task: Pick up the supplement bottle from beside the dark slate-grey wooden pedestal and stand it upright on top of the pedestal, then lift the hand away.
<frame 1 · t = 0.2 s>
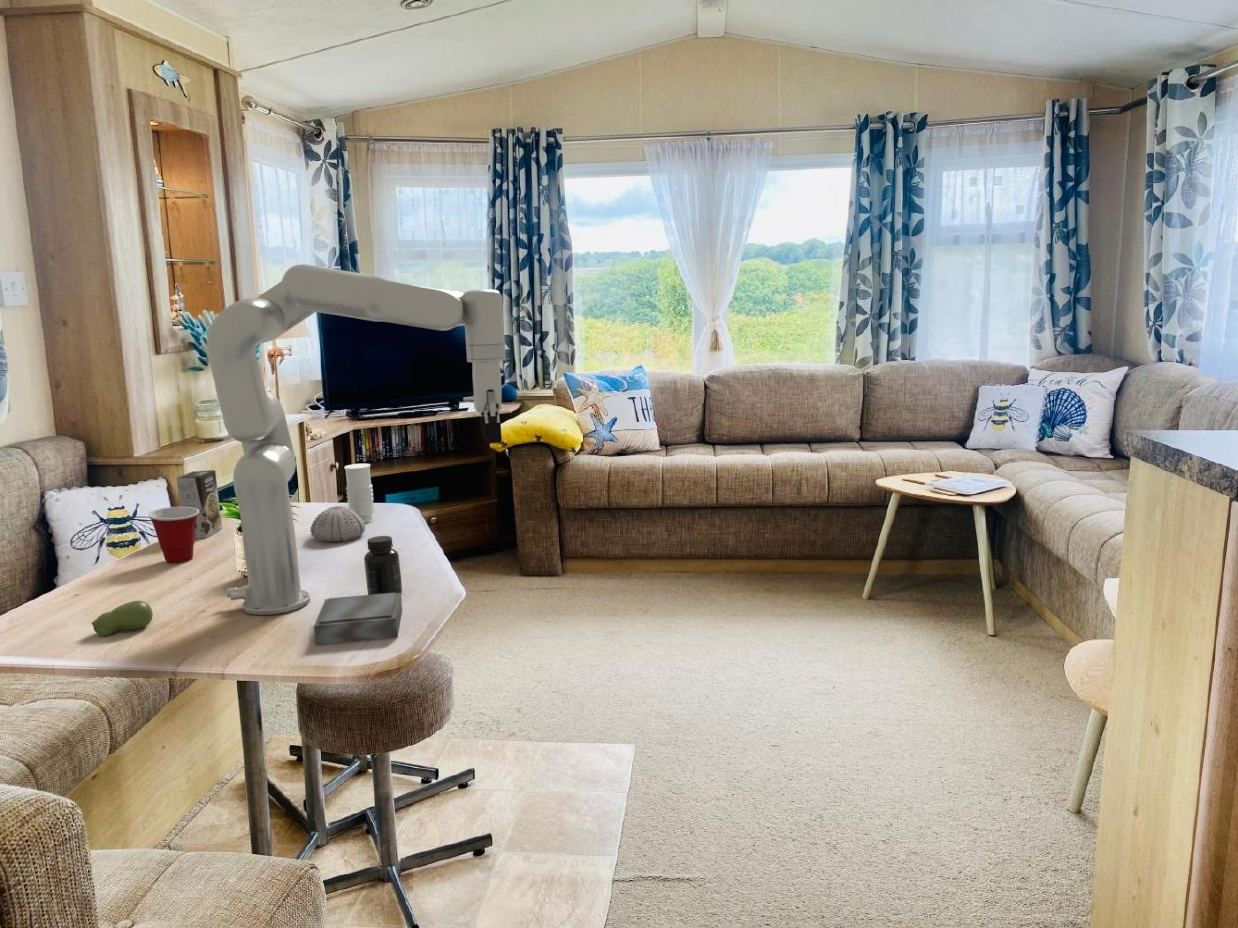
hand: (491, 439, 182), 31 cm above the table, tool pointing down, fingers open, 9 cm apart
coffee box: (203, 534, 237), on the table
pedestal: (361, 627, 168), on the table
candle: (362, 521, 246), on the table
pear: (124, 631, 170), on the table
plastic cup: (180, 561, 214), on the table
supplement bottle: (385, 596, 185), on the table
sea urchin shell: (339, 538, 230), on the table
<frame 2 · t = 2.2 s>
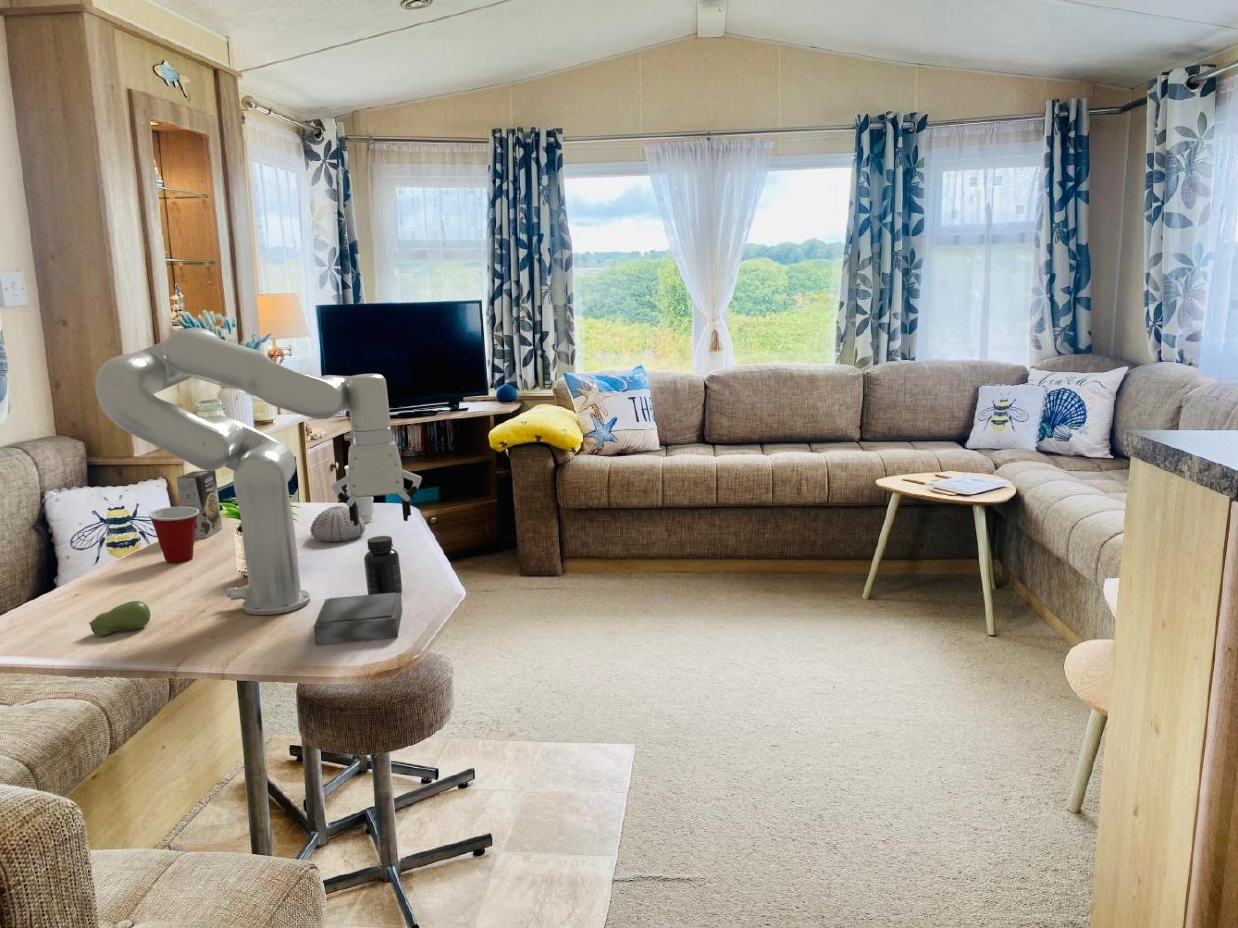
hand: (381, 521, 182), 15 cm above the table, tool pointing down, fingers open, 9 cm apart
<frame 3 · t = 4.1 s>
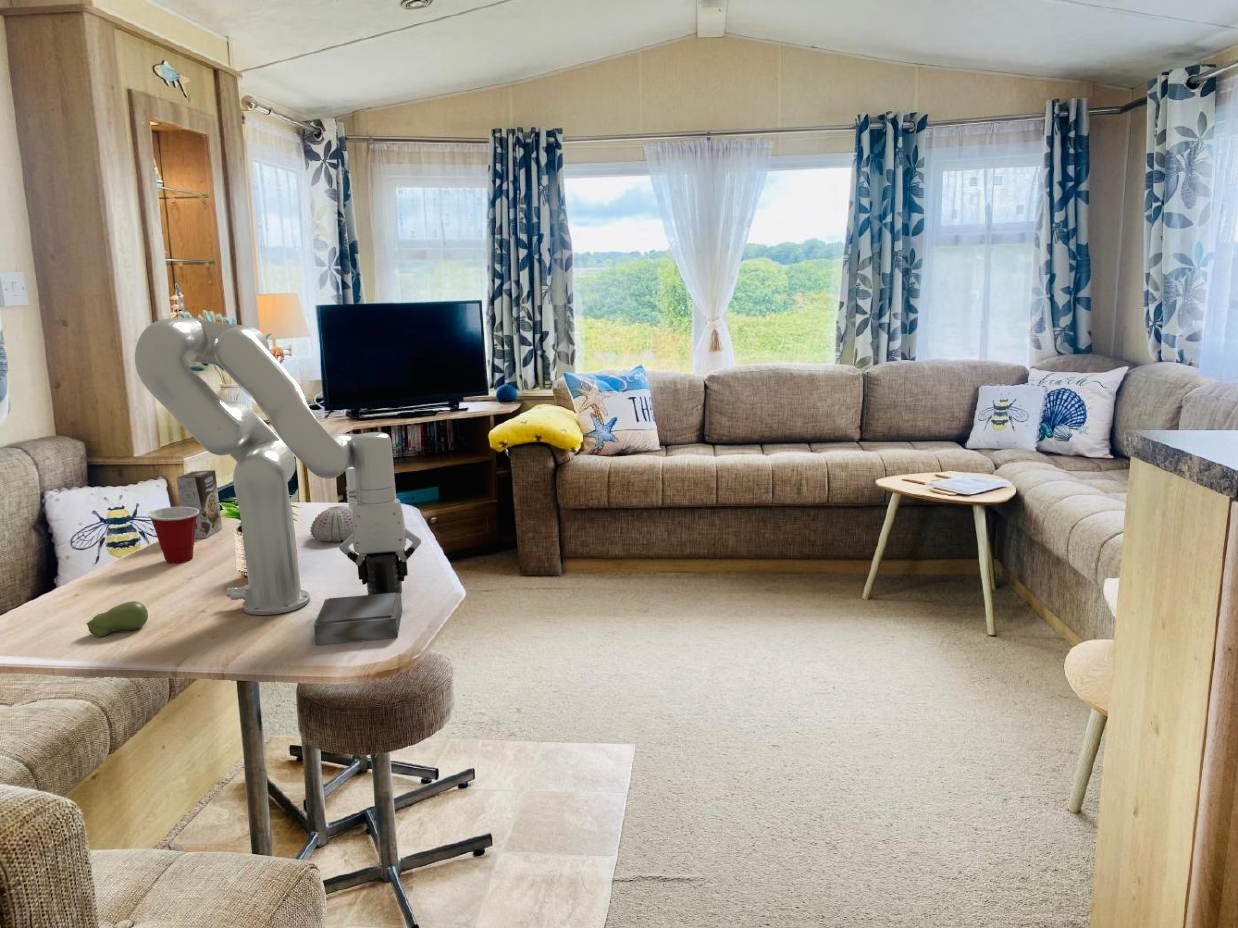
hand: (383, 580, 184), 3 cm above the table, tool pointing down, fingers closed on supplement bottle, 6 cm apart
supplement bottle: (385, 596, 185), on the table, touching gripper
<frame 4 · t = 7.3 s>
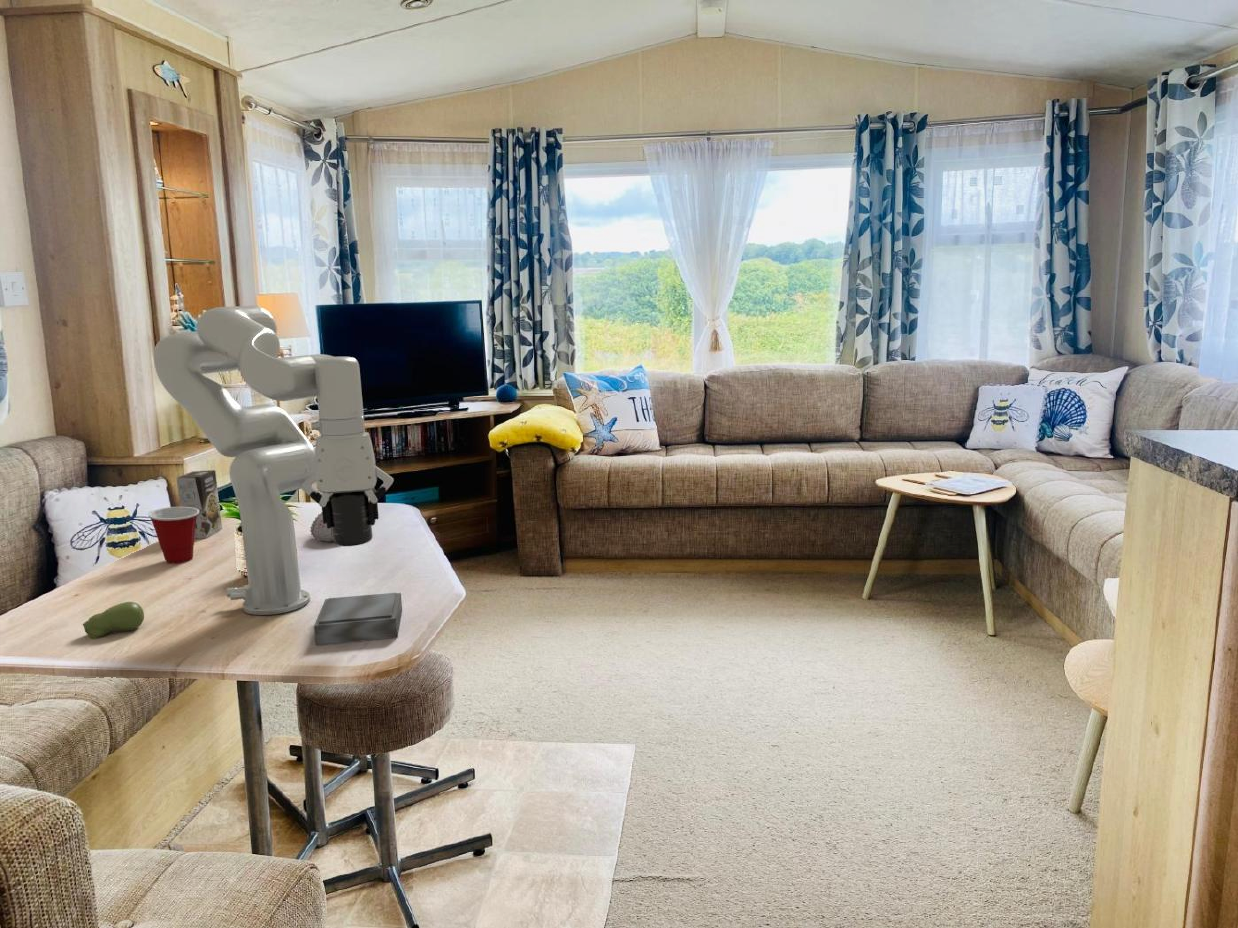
hand: (351, 524, 164), 20 cm above the table, tool pointing down, fingers closed on supplement bottle, 6 cm apart
supplement bottle: (353, 542, 165), point 16 cm above the table, touching gripper
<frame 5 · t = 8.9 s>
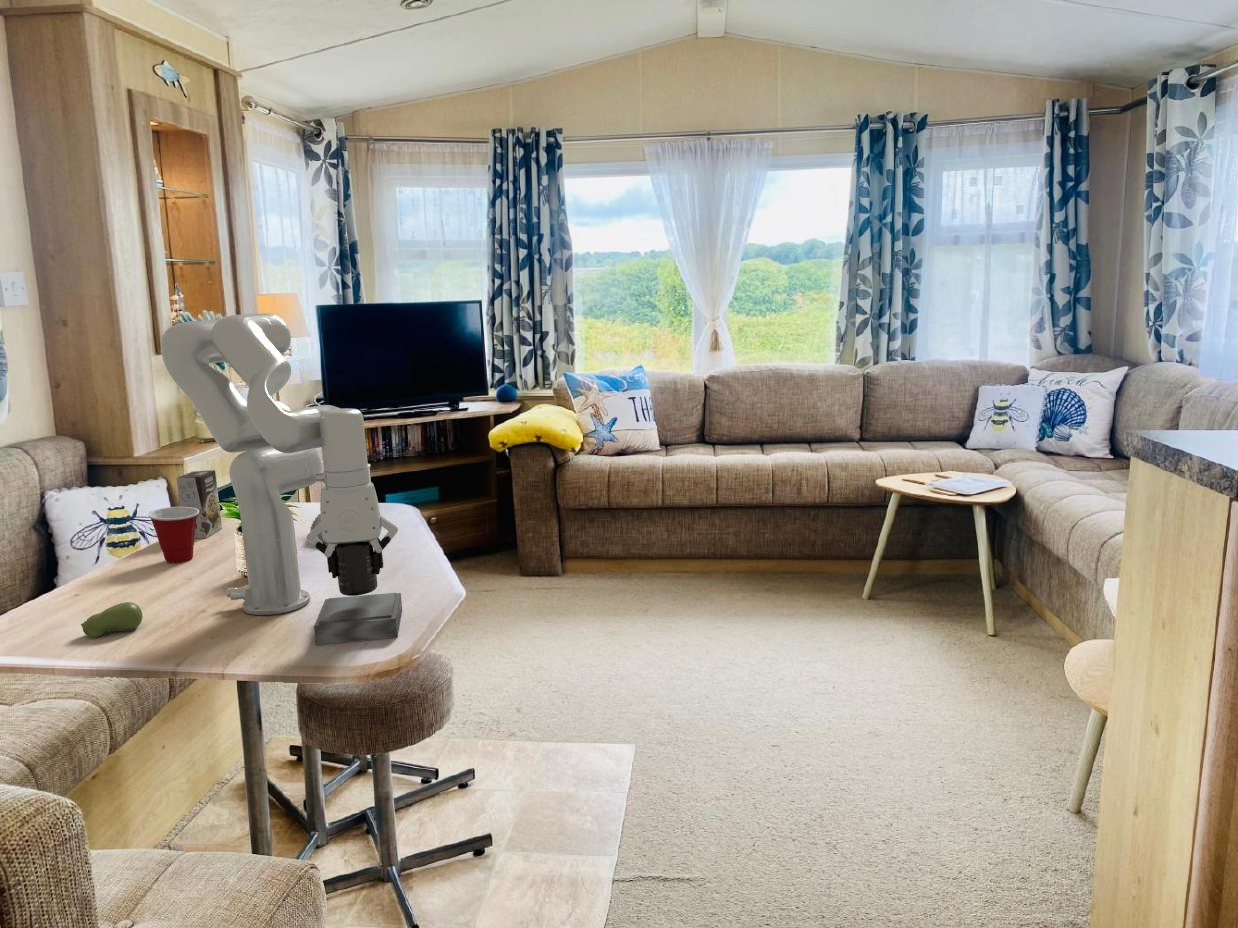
hand: (356, 573, 165), 10 cm above the table, tool pointing down, fingers closed on supplement bottle, 6 cm apart
supplement bottle: (358, 591, 166), point 7 cm above the table, touching gripper
when the fingers open (8 cm above the table, at t = 10.3 s): supplement bottle stays where it is, resting on pedestal.
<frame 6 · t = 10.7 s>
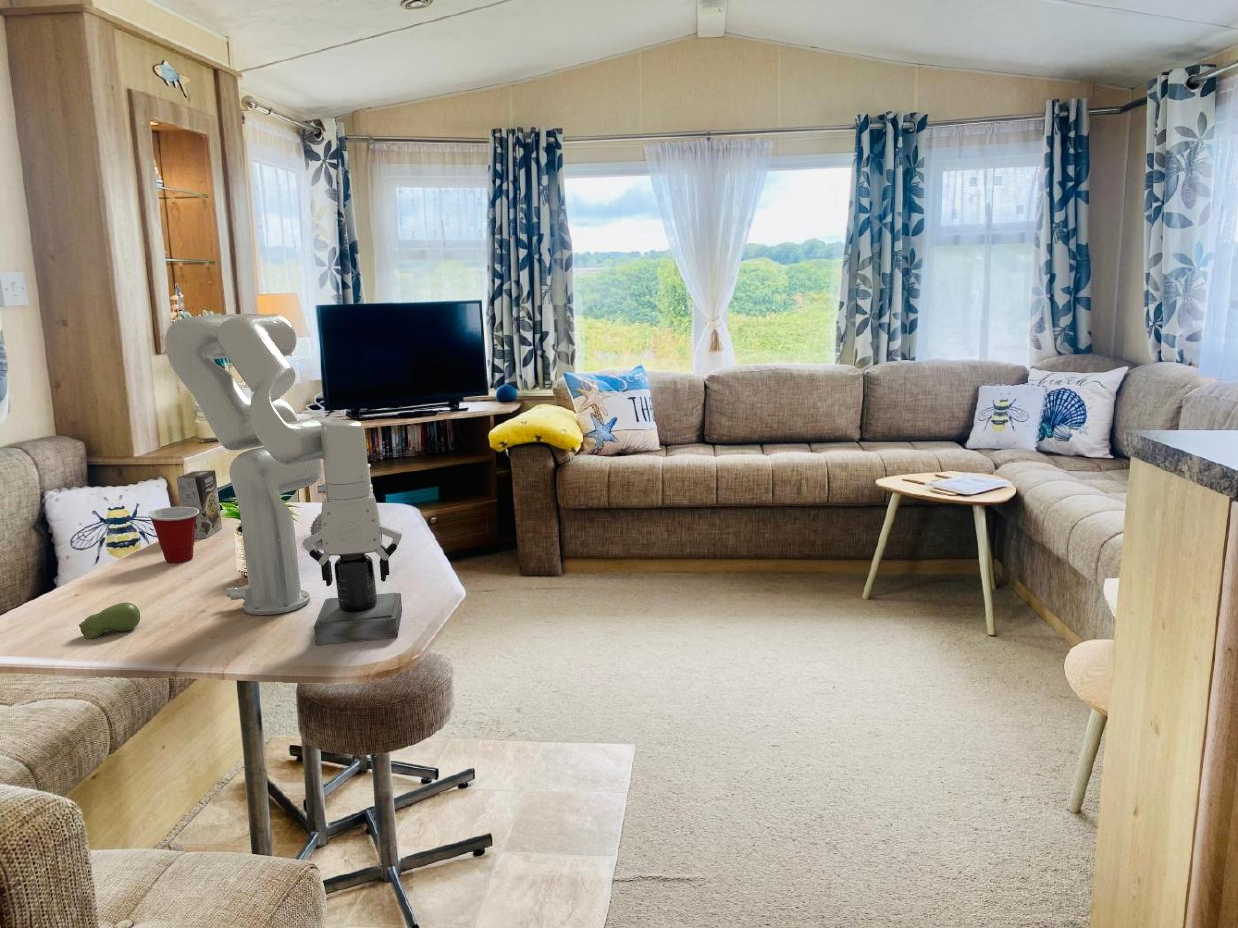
hand: (356, 581, 166), 9 cm above the table, tool pointing down, fingers open, 9 cm apart
supplement bottle: (358, 607, 167), point 4 cm above the table, touching pedestal
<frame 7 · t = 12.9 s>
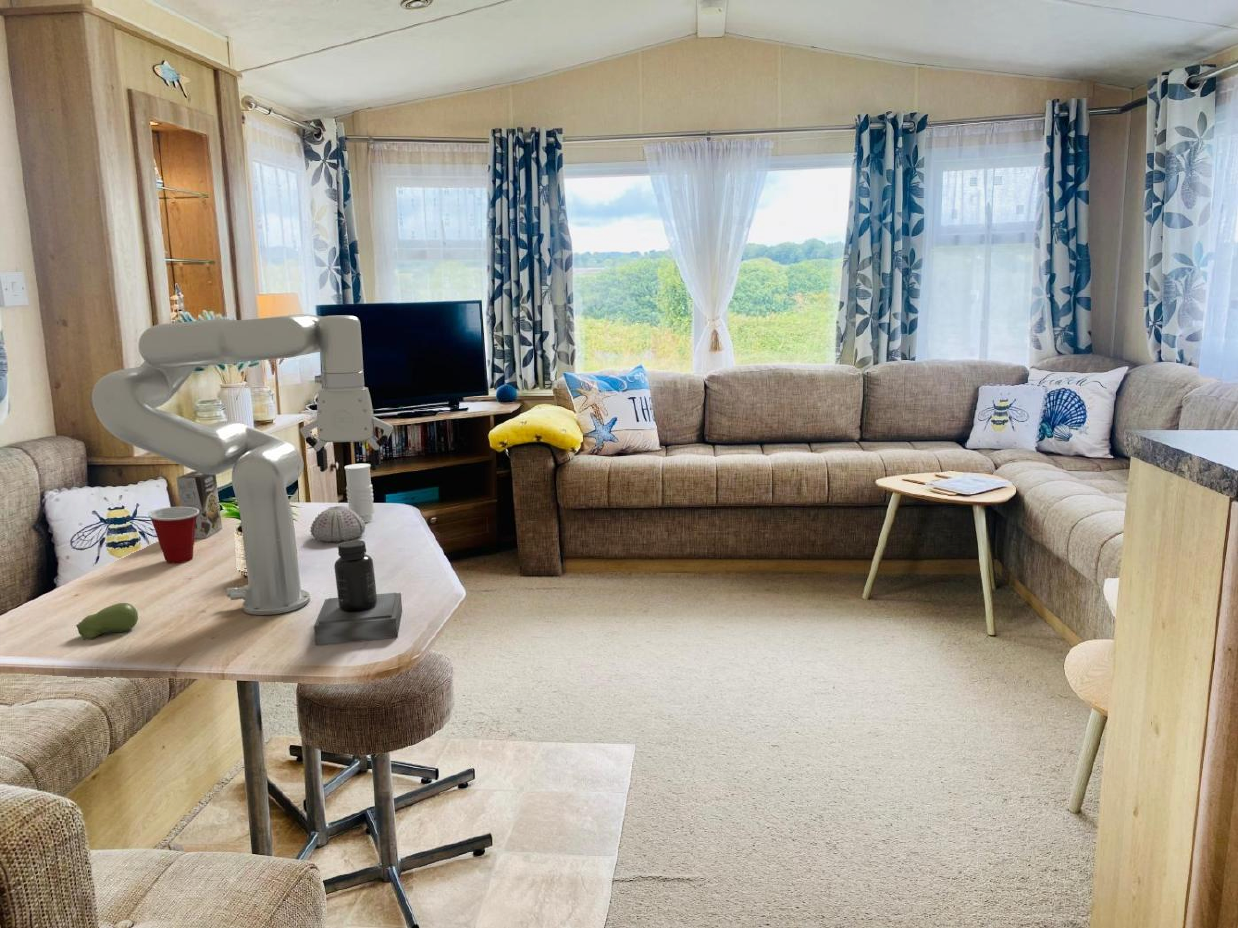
hand: (349, 469, 176), 27 cm above the table, tool pointing down, fingers open, 9 cm apart
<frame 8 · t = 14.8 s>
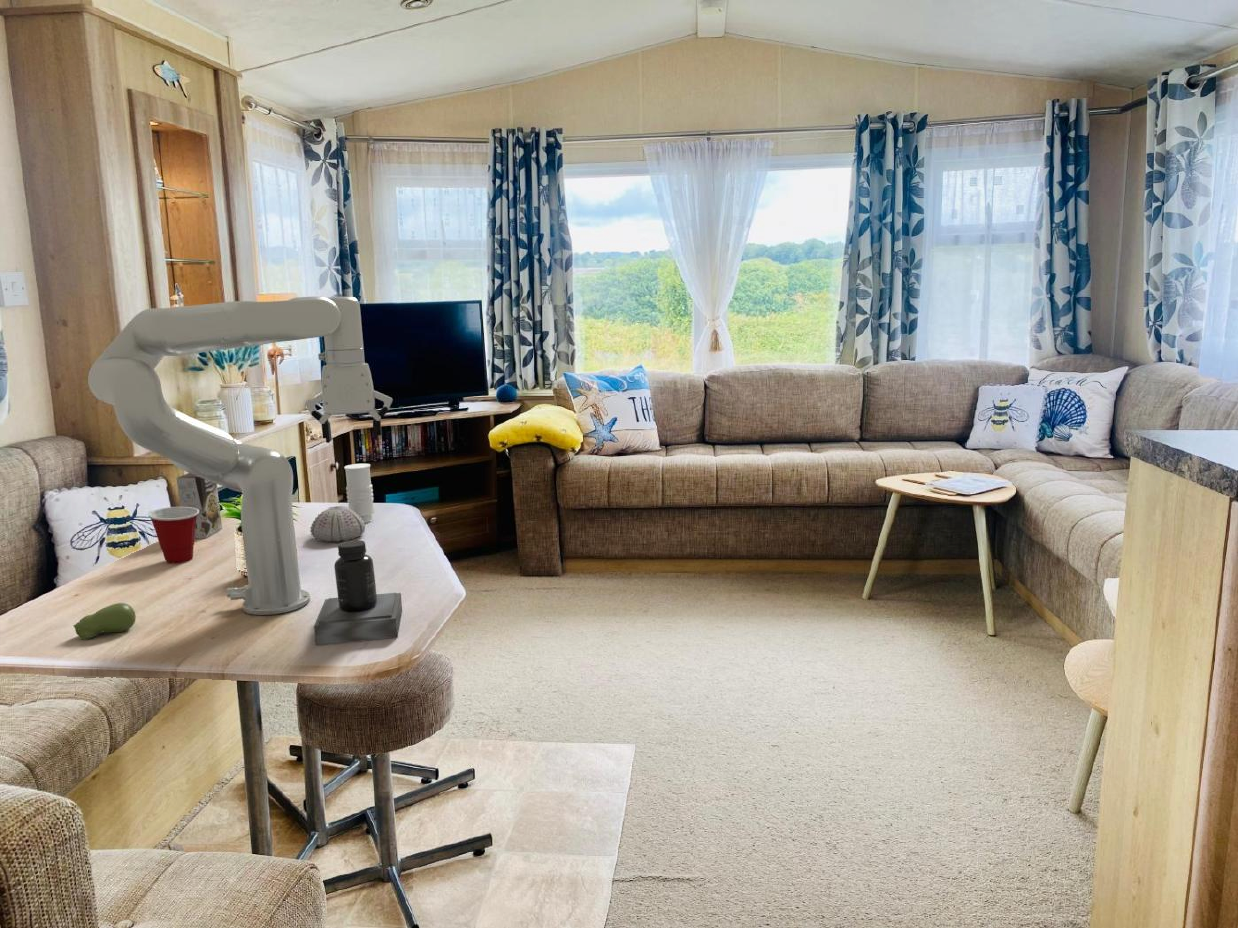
hand: (352, 440, 189), 30 cm above the table, tool pointing down, fingers open, 9 cm apart
at the end: supplement bottle inside the target area on the pedestal (0.2 cm from its centre), point 3.8 cm above the pedestal's base; supplement bottle tilted 0°; the gripper is holding nothing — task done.
